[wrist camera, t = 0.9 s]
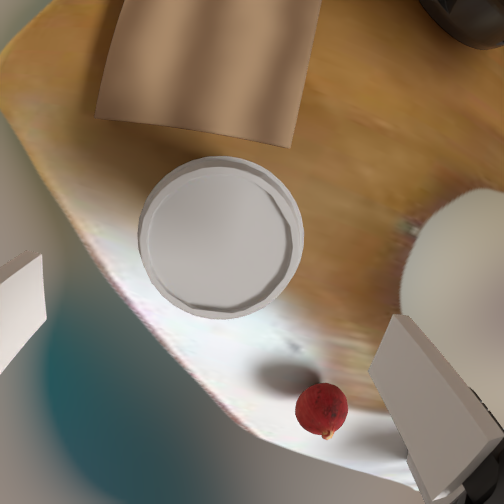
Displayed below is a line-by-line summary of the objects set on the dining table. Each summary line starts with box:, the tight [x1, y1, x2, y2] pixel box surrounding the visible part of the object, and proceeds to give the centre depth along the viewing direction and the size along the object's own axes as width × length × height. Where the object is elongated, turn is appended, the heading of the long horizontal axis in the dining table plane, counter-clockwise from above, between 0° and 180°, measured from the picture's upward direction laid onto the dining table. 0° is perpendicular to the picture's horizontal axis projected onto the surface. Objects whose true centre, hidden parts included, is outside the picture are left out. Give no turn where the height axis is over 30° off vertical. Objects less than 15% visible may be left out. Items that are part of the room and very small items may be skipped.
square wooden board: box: [94, 0, 322, 148], centre depth 22 cm, size 16×16×3 cm
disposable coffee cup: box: [138, 156, 304, 320], centre depth 23 cm, size 10×10×12 cm
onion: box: [295, 383, 348, 440], centre depth 32 cm, size 6×6×8 cm
